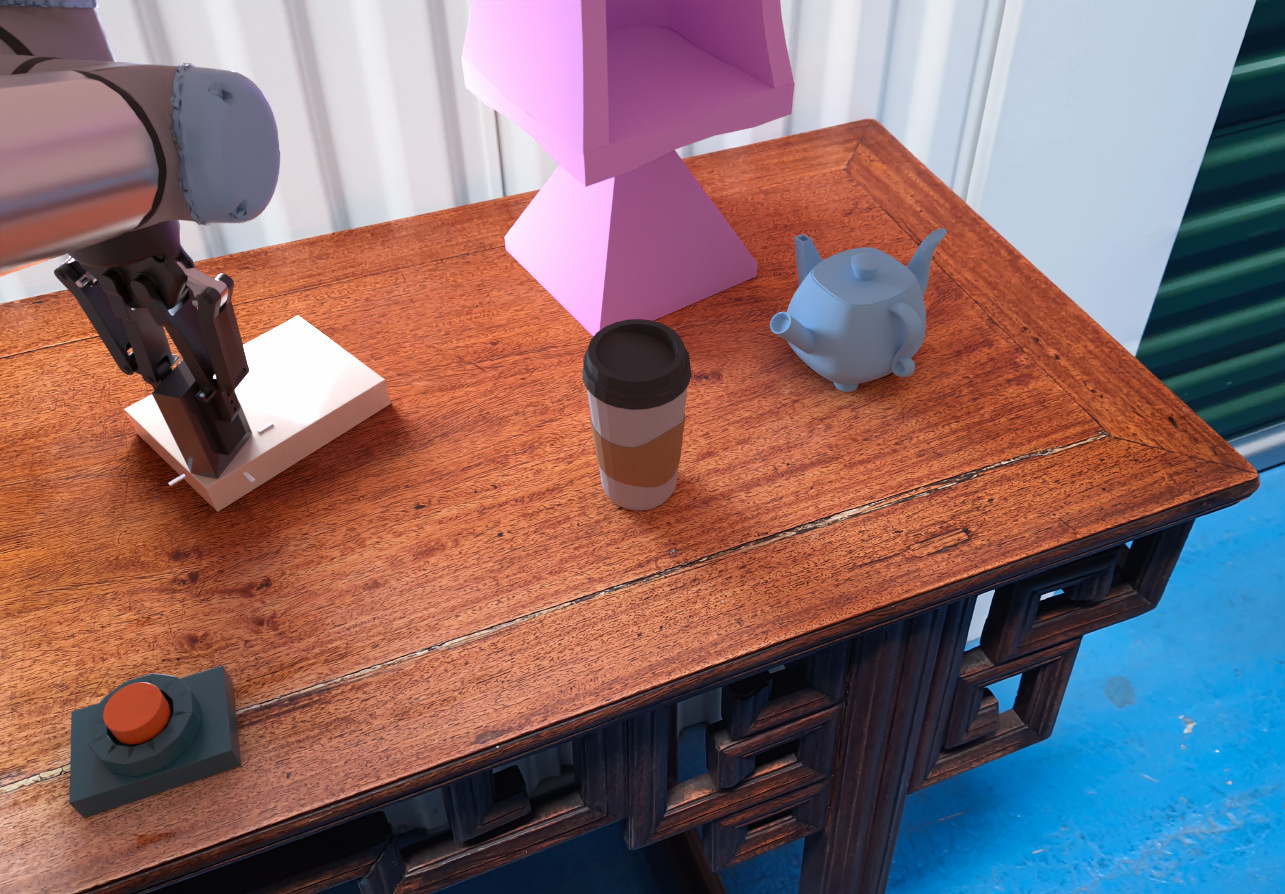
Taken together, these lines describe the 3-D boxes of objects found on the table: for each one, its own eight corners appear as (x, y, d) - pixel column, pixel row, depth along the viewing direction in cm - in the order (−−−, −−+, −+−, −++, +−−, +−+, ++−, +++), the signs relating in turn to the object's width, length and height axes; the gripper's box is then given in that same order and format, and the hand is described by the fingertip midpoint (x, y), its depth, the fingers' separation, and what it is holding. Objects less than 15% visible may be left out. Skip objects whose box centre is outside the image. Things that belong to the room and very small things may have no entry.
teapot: (789, 299, 103) (800, 203, 94) (924, 320, 100) (948, 223, 92) (761, 396, 92) (771, 298, 84) (911, 422, 90) (936, 323, 82)
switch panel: (212, 539, 81) (199, 514, 79) (116, 443, 89) (102, 418, 87) (407, 415, 91) (400, 389, 89) (305, 339, 99) (297, 313, 97)
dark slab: (217, 479, 81) (178, 396, 75) (190, 473, 82) (149, 390, 75) (252, 433, 85) (219, 350, 79) (227, 428, 86) (191, 345, 79)
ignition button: (113, 752, 64) (102, 739, 63) (113, 706, 66) (102, 692, 65) (172, 734, 65) (162, 720, 64) (169, 688, 67) (160, 674, 66)
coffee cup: (644, 436, 89) (643, 301, 78) (708, 488, 84) (715, 352, 74) (570, 481, 85) (557, 345, 74) (633, 538, 80) (628, 403, 70)
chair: (595, 355, 97) (563, -175, 64) (488, 248, 110) (418, -238, 78) (774, 278, 105) (825, -225, 73) (656, 186, 118) (654, -274, 86)
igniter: (83, 818, 65) (56, 790, 62) (84, 727, 69) (59, 697, 66) (241, 766, 67) (223, 736, 64) (232, 681, 72) (214, 650, 69)
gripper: (238, 175, 67) (323, 425, 83) (41, 147, 70) (161, 394, 86) (173, 236, 62) (277, 489, 78) (-36, 203, 65) (107, 454, 81)
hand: (216, 439), depth 82 cm, fingers closed on dark slab, 2 cm apart
